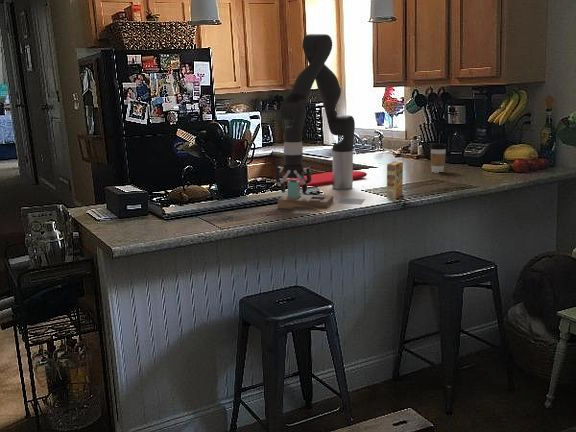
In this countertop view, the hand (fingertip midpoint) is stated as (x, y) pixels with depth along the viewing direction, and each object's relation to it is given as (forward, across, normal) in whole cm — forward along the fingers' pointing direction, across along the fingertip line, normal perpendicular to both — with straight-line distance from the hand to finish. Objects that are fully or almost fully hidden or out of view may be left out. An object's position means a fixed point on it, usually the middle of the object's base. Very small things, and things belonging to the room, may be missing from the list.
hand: (293, 192), depth 258 cm
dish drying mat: (+6, -1, -56) cm, 56 cm away
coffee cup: (+6, -52, -93) cm, 107 cm away
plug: (+5, 0, 0) cm, 5 cm away
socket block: (+5, -5, 0) cm, 7 cm away
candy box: (+6, -38, -23) cm, 45 cm away
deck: (+5, -22, -9) cm, 24 cm away
